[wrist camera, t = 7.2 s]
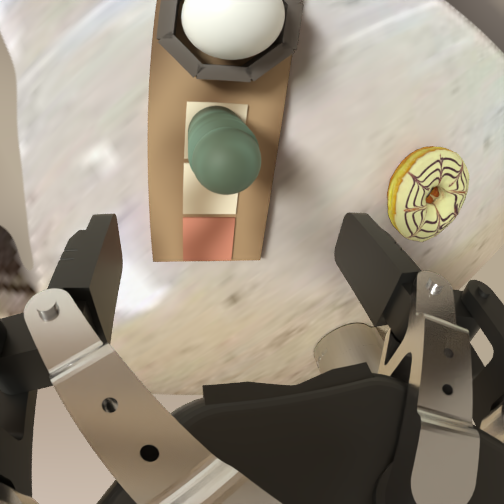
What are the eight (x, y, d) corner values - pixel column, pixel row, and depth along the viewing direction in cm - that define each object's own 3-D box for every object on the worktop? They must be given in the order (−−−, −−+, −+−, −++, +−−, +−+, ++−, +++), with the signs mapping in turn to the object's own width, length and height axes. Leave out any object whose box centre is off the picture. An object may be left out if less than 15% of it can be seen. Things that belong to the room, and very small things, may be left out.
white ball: (275, -11, 15) (305, -30, 11) (265, 63, 19) (291, 66, 14) (188, -19, 14) (187, -45, 9) (178, 57, 17) (173, 57, 13)
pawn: (246, 108, 21) (280, 137, 14) (237, 158, 23) (264, 212, 16) (191, 103, 20) (193, 127, 13) (185, 154, 22) (185, 208, 15)
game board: (298, -18, 16) (316, -28, 13) (258, 253, 30) (266, 279, 27) (163, -31, 14) (158, -45, 11) (153, 255, 28) (151, 281, 25)
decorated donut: (449, 213, 33) (467, 230, 30) (380, 238, 33) (397, 258, 30) (455, 135, 26) (479, 147, 23) (378, 151, 26) (400, 166, 23)
